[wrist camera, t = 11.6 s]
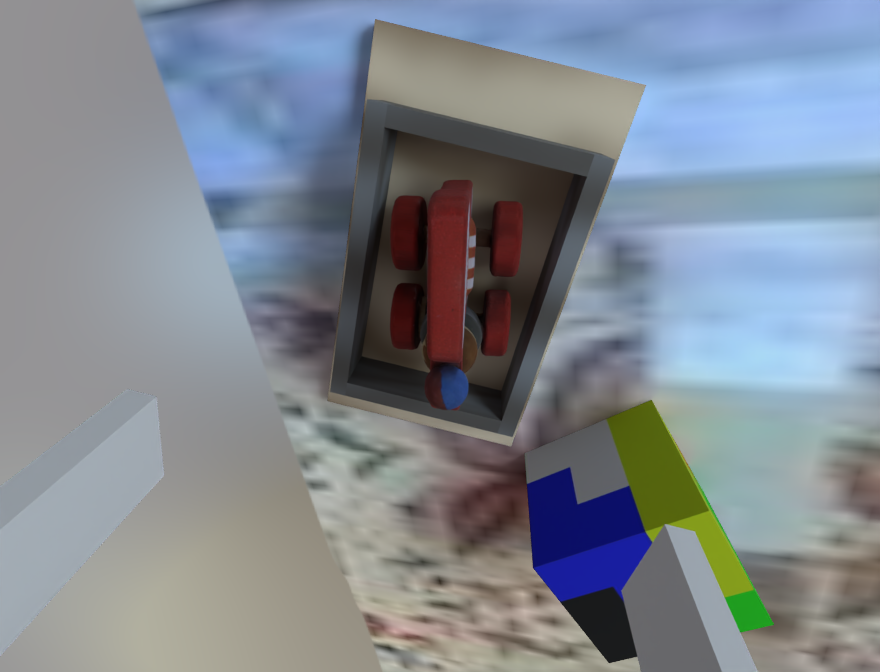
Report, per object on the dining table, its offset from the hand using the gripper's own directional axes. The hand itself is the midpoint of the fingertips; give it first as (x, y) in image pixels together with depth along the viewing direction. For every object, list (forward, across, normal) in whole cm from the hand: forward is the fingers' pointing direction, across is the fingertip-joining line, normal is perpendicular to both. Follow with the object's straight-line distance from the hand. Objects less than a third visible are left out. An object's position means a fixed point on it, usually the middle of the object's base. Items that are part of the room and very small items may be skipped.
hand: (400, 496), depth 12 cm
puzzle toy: (+20, +15, -13) cm, 28 cm away
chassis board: (+20, 0, 0) cm, 20 cm away
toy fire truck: (+19, 0, 0) cm, 19 cm away
